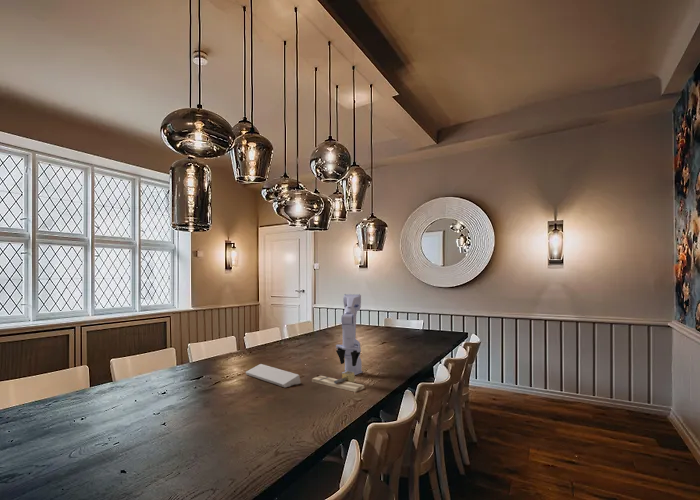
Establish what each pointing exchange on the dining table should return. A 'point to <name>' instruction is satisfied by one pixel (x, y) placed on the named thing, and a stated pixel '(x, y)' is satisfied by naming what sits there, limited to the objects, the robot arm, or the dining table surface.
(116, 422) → the dining table surface
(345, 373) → the marking gauge
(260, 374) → the decorative molding
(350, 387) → the maple board
